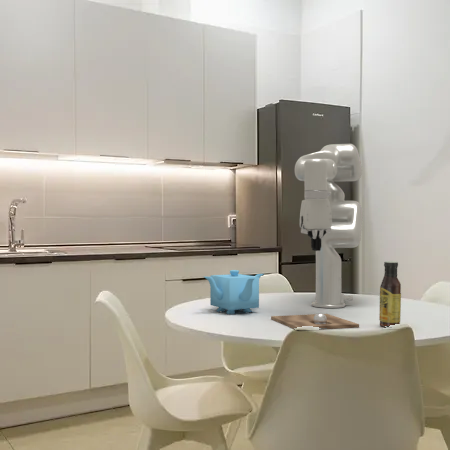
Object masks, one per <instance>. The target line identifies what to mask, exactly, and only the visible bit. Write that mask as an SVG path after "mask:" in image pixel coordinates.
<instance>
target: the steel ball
mask: <svg viewBox="0 0 450 450" xmlns="http://www.w3.org/2000/svg"><path fill="white" fill-rule="evenodd" d="M324 314H325V313H322V312H318V313H316V315H315V316H314V323H315V324H326V322H327V318H326V316H325V315H324Z"/></svg>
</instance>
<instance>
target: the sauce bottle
mask: <svg viewBox="0 0 450 450" xmlns="http://www.w3.org/2000/svg"><path fill="white" fill-rule="evenodd" d="M383 266H384V273H383V274H384V276H383V278H382V281H381V284H380V286H379V314H378V315H379V319H378V320H379V325H380V327H384V328H386V327H385V326H390V325H395V324H400V325H401V313H402V312H401V311H402V310H401V308H402V307H401V305H402V301H401V300H402V299H401V298H402V292H401V291H402V290H401V289H402V287H401V286H402V285H401V282H400V280H399V279H398V267H399V262H398V261H393V260H389V261H388V260H387V261H384V264H383Z"/></svg>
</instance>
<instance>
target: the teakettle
mask: <svg viewBox="0 0 450 450" xmlns="http://www.w3.org/2000/svg"><path fill="white" fill-rule="evenodd" d="M239 272H240V270H237V269H231V270H229V274H213V275H212V274H211V275H210V276H203V278H204V279H206V280H207V281H208V283H209V286H210V291H209V293H210V298H209V299H210V306H213V307H217V310H216V312H219V311H223V312H225V311H226V310H227V311H226V313H227V314H226V315H235V314H236V311H241V310H240V309H242V310H243V312H244V313H245V312H252V313H253V310H252V309H259V308H260V278H261V277H262V276H264V275H265V273H258V274H255V275H248V274H241V273H239Z"/></svg>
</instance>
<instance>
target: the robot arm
mask: <svg viewBox="0 0 450 450" xmlns="http://www.w3.org/2000/svg"><path fill="white" fill-rule="evenodd" d="M362 167H363V166H362V162H361V158H360V154H359V150H358V148H357V146H355V144H353V143H335V144H331V143H330V144H327V145H325V146H323V147H322V148H321V149H320V150H319V151H316V152H312V153H308V154H304V155H302V156H300V157H299V158H298V159H297V161H296V162H295V164H294V175H295V178H296V179H297V180H298V181H301V182H304V199H303V200H301V205H300V211H299V212H300V213H299V228H300V233H301V234H305V235H307V236H308V237H309V239H310V247H311V250H312V251H315V301H312V302H311V307H315V308H321V309H322V308H325V309H340V308H345V307H346V301H349V302H350V301H354V296H353V295H345V293H342V258H341V255H339V253H338V252H337V251H336V249H338V248H339V249H345V248H346V249H347V248H349V249H353V248H356V247H358V246H359V245H360V244H361V239H362V231H363V230H362V229H363V226H362V225H363V216H364V215H363V207H362V205H361V203H360V202H358V201H357V200H345V197H346V196H345V195H346V194H345V193H344V191H343V189H342V188H341V187H340V186H339V185H338V184H337V183H335V182H356V181H359V180H360V179H361V177H362V174H363V173H362V172H363V169H362Z"/></svg>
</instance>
